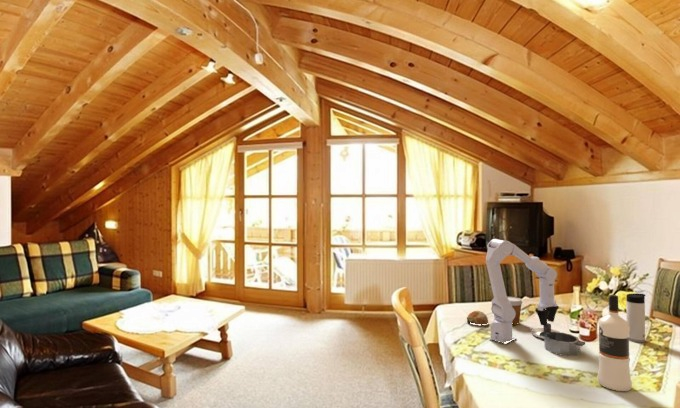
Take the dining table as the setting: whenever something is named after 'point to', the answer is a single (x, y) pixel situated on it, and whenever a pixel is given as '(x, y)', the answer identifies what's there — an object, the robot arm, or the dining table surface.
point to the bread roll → (477, 318)
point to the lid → (542, 330)
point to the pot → (562, 343)
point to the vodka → (614, 350)
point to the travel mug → (636, 317)
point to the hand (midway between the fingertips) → (547, 323)
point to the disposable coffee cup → (516, 308)
